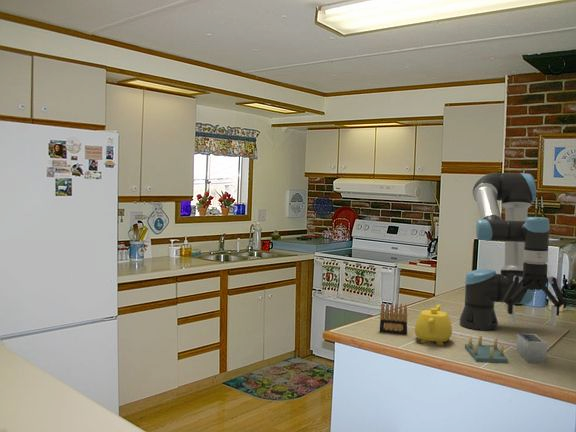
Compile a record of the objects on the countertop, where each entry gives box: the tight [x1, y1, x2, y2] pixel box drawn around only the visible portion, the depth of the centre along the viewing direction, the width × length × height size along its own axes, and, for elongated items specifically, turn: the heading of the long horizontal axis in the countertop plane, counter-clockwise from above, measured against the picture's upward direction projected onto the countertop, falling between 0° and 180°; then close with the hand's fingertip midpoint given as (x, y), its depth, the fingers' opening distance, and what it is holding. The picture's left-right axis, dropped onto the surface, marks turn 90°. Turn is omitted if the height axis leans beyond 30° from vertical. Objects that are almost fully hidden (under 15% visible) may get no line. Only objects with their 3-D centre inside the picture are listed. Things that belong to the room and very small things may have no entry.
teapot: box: [414, 303, 453, 346], centre depth 203 cm, size 13×20×12 cm
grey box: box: [516, 332, 548, 364], centre depth 185 cm, size 11×6×7 cm, turn 175°
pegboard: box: [464, 334, 509, 364], centre depth 187 cm, size 15×10×5 cm
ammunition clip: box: [379, 301, 408, 336], centre depth 212 cm, size 11×2×12 cm, turn 74°
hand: (532, 324), depth 184 cm, fingers open, 13 cm apart
